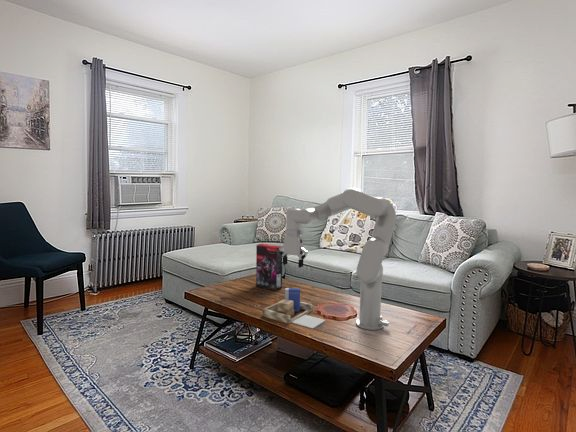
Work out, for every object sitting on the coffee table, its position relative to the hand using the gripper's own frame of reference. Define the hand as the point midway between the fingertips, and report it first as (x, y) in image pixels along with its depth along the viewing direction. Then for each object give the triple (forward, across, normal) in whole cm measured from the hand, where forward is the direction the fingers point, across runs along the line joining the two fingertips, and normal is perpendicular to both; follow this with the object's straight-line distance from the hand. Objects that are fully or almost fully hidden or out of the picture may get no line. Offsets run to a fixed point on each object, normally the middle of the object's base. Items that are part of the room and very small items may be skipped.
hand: (292, 265), depth 179 cm
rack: (+24, -1, +4) cm, 24 cm away
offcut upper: (+20, -3, +9) cm, 22 cm away
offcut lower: (+24, -3, +10) cm, 26 cm away
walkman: (+24, 0, 0) cm, 24 cm away
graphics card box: (+24, +35, -26) cm, 50 cm away
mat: (+24, -15, +8) cm, 29 cm away
